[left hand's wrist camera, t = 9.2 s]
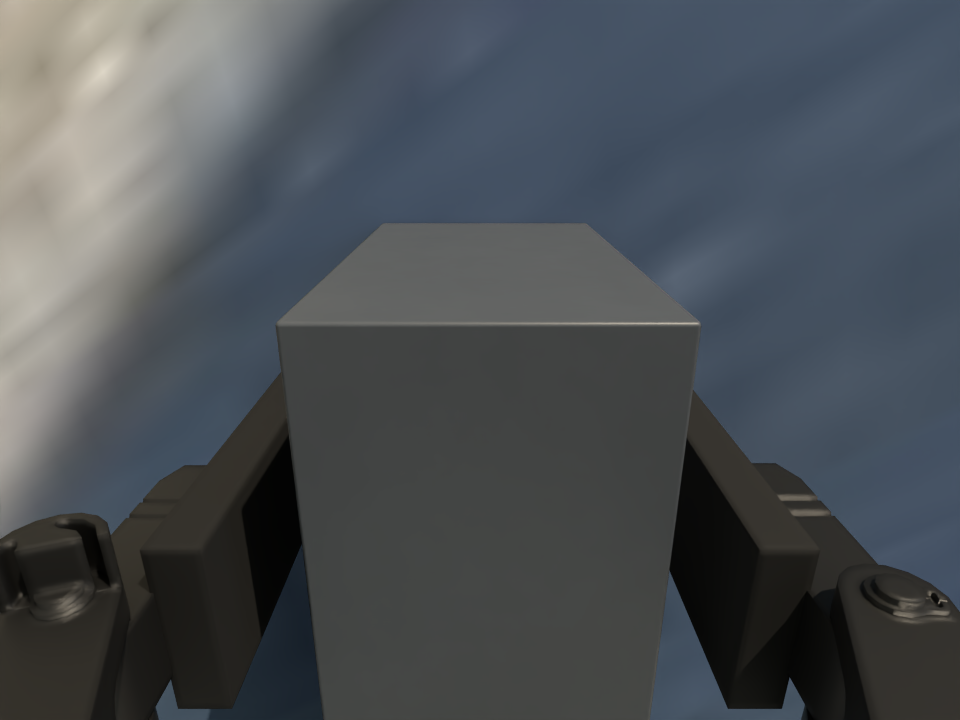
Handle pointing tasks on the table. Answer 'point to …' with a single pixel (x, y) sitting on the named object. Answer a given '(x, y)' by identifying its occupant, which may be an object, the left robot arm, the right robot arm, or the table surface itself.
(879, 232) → the table surface
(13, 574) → the left robot arm
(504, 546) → the beam
